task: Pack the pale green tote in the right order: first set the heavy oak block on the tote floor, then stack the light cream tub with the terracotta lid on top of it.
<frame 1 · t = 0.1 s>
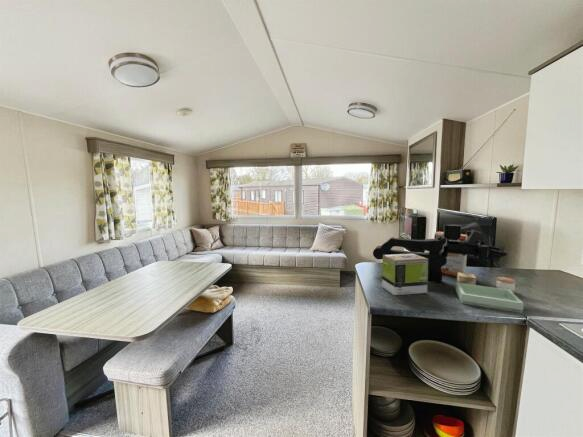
hand: (503, 251, 108), 17 cm above the table, tool horizontal, fingers open, 9 cm apart
tea box: (403, 290, 108), on the table
cracker box: (448, 273, 132), on the table
oak block: (465, 285, 114), on the table
green tote: (485, 300, 98), on the table
cream tub: (504, 291, 108), on the table
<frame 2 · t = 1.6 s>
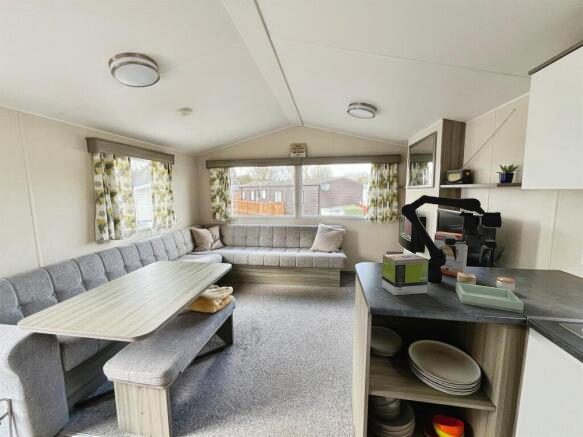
hand: (467, 261, 113), 11 cm above the table, tool pointing down, fingers open, 9 cm apart
nothing on the table moved.
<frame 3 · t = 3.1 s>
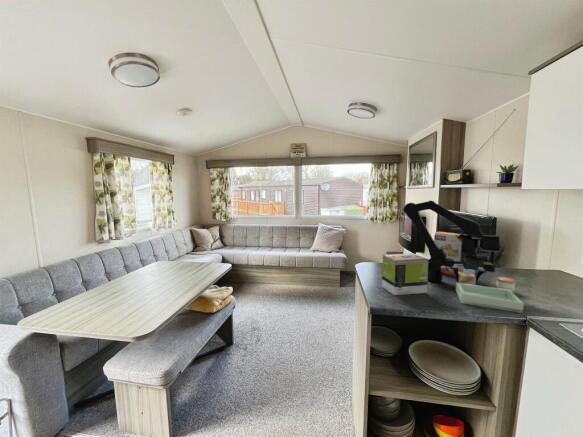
hand: (465, 283, 114), 1 cm above the table, tool pointing down, fingers closed on oak block, 6 cm apart
oak block: (465, 285, 114), on the table, touching gripper
everything else where it was.
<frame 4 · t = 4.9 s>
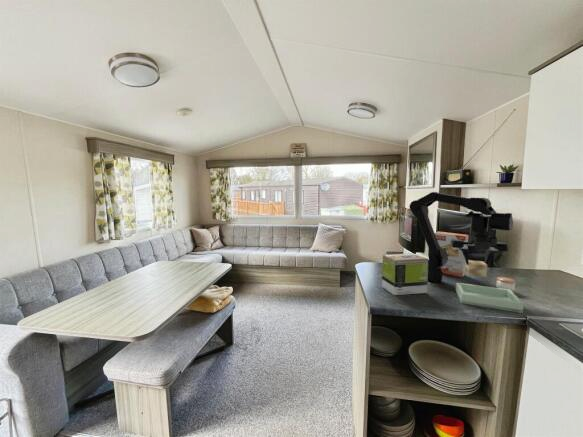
hand: (476, 265, 107), 11 cm above the table, tool pointing down, fingers closed on oak block, 6 cm apart
oak block: (475, 274, 107), point 7 cm above the table, touching gripper
everything else where it was.
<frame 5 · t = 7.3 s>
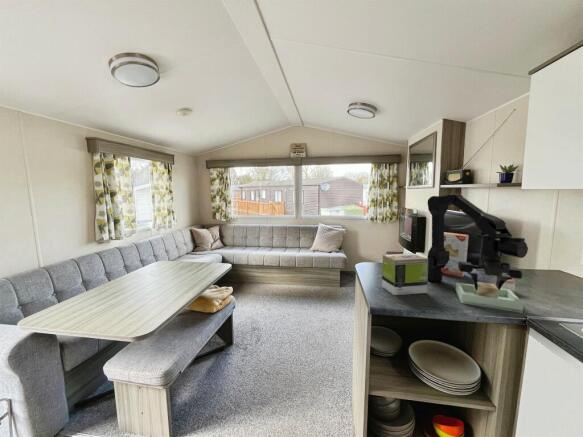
hand: (486, 291, 98), 4 cm above the table, tool pointing down, fingers closed on oak block, 6 cm apart
oak block: (485, 297, 98), point 1 cm above the table, touching green tote, gripper
everything else where it was.
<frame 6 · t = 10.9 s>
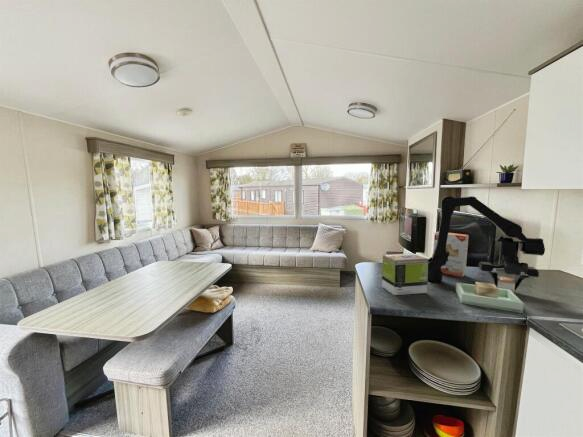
hand: (505, 288, 108), 1 cm above the table, tool pointing down, fingers closed on cream tub, 6 cm apart
oak block: (485, 297, 98), point 1 cm above the table, touching green tote
cream tub: (504, 291, 108), on the table, touching gripper
everything else where it was.
when the fingers open (8 cm above the table, at t = 14.5 s): cream tub stays where it is, resting on oak block.
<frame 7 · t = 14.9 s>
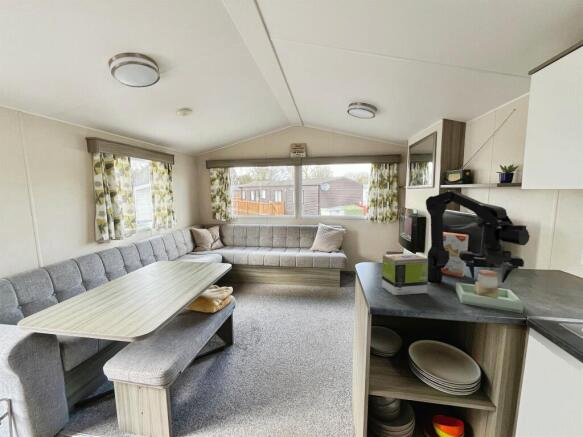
hand: (487, 280, 97), 8 cm above the table, tool pointing down, fingers open, 9 cm apart
oak block: (485, 297, 98), point 1 cm above the table, touching cream tub, green tote
cream tub: (487, 285, 98), point 6 cm above the table, touching oak block
everything else where it was.
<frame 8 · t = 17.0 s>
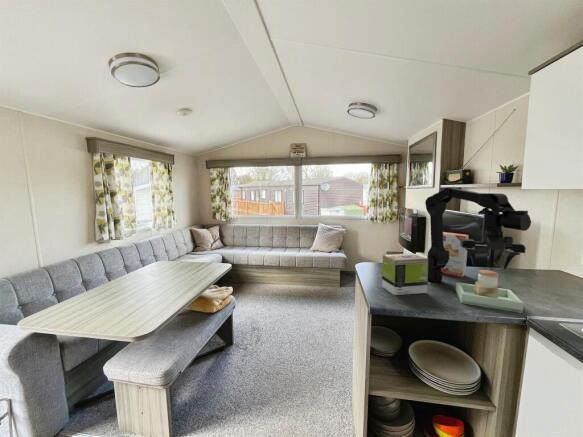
hand: (488, 267, 97), 13 cm above the table, tool pointing down, fingers open, 9 cm apart
nothing on the table moved.
at the end: oak block inside the target area on the green tote (0.2 cm from its centre), point 1.0 cm above the green tote's base; cream tub 0.2 cm off-centre on the oak block, point 5.0 cm above the oak block's base; cream tub tilted 1° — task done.
